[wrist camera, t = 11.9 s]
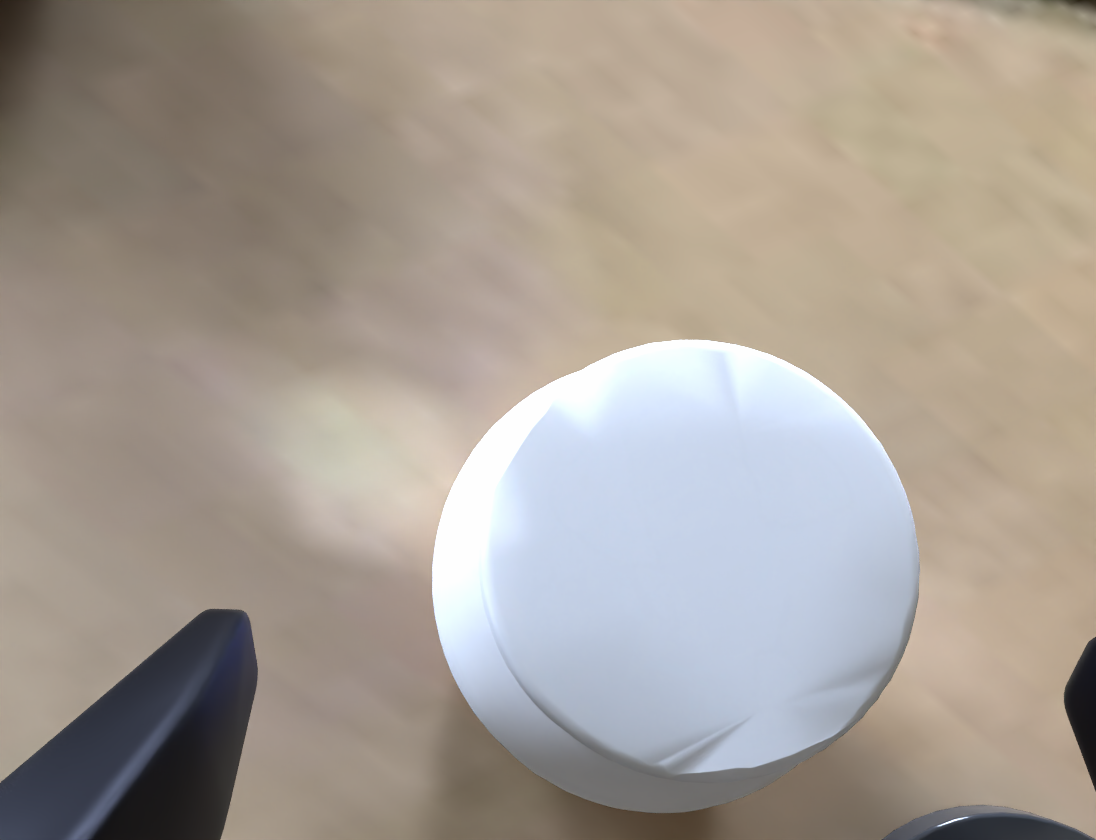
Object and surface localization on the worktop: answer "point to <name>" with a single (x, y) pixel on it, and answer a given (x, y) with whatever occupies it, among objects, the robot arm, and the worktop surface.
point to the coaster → (985, 826)
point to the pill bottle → (675, 575)
